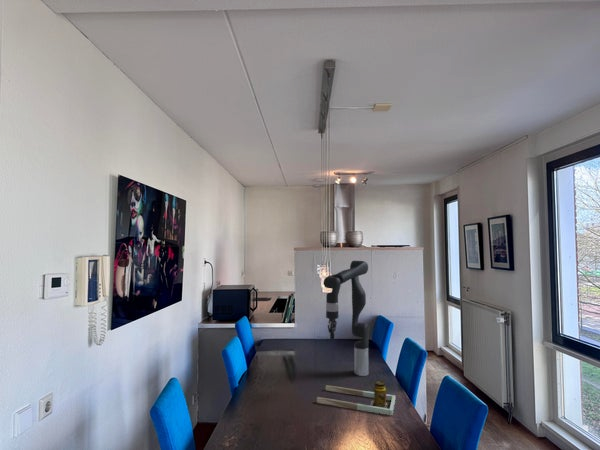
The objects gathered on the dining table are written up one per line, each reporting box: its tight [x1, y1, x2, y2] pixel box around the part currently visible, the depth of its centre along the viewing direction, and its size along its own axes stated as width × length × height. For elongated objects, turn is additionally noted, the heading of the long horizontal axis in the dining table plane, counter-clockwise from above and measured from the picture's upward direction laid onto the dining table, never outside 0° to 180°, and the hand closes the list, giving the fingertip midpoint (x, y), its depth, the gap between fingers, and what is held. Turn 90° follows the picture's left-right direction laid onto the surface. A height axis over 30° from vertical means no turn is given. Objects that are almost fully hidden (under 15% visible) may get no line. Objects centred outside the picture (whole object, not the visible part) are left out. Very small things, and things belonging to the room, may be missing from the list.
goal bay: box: [357, 390, 397, 416], centre depth 181 cm, size 18×18×2 cm
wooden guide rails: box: [316, 384, 364, 410], centre depth 188 cm, size 18×22×2 cm
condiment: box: [369, 380, 388, 408], centre depth 181 cm, size 7×8×12 cm
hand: (332, 339), depth 204 cm, fingers closed
